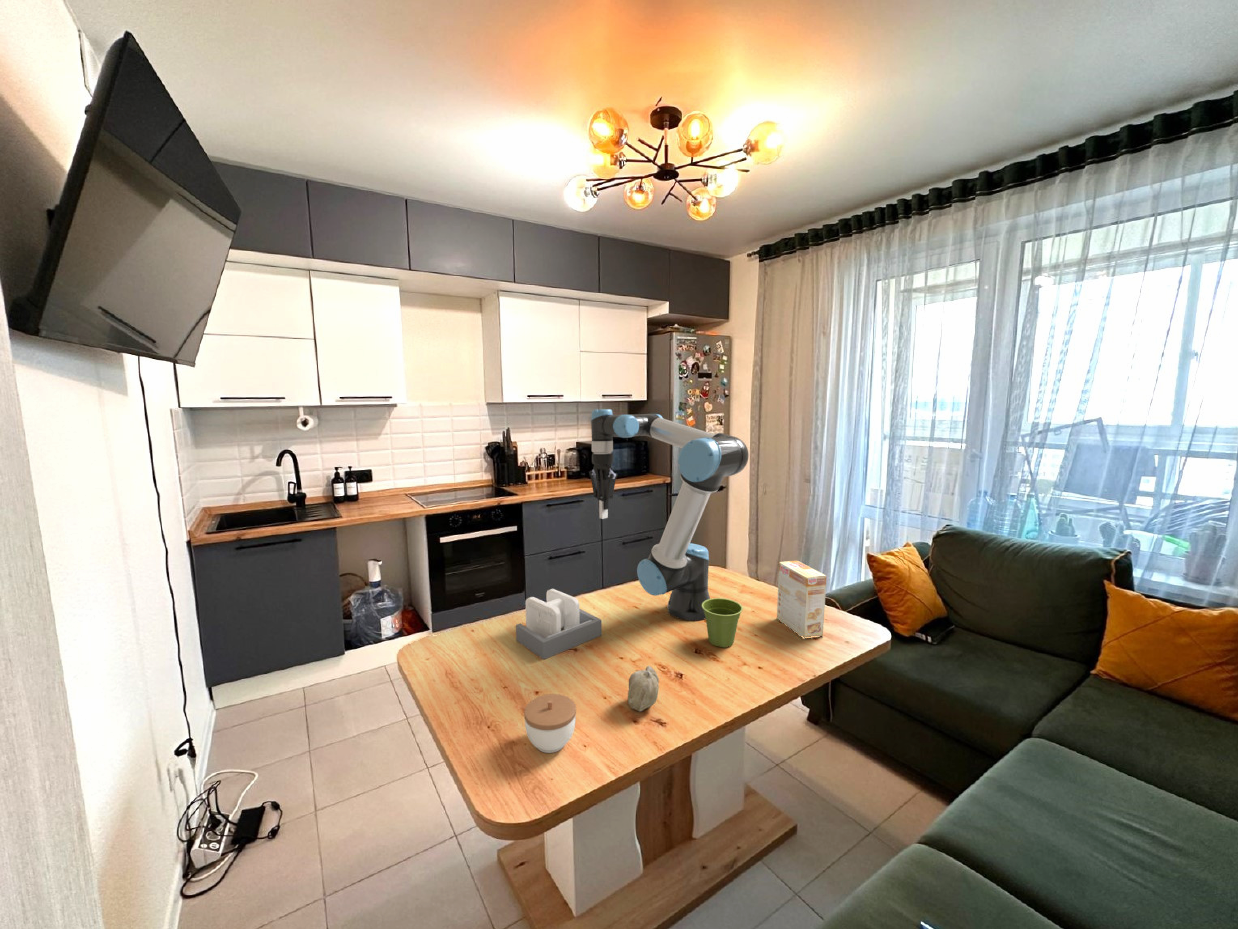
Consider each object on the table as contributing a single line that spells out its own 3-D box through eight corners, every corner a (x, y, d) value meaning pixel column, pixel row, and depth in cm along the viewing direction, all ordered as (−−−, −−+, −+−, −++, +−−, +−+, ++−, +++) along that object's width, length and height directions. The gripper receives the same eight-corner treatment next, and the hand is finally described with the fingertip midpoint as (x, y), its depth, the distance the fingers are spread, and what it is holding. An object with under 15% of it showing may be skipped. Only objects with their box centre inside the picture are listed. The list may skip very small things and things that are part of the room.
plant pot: (693, 642, 146) (693, 606, 145) (715, 629, 155) (716, 594, 153) (727, 657, 138) (728, 618, 137) (749, 642, 146) (750, 605, 145)
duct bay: (601, 635, 151) (601, 619, 150) (543, 659, 137) (543, 642, 136) (572, 619, 161) (572, 605, 161) (516, 640, 147) (516, 624, 147)
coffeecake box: (823, 637, 149) (827, 575, 147) (803, 640, 148) (806, 577, 145) (794, 616, 164) (797, 559, 161) (775, 618, 162) (778, 561, 159)
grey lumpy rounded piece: (645, 703, 121) (652, 661, 123) (666, 716, 114) (673, 671, 115) (613, 703, 116) (620, 659, 118) (633, 717, 109) (640, 670, 111)
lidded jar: (538, 722, 110) (538, 683, 109) (583, 731, 107) (583, 691, 106) (515, 755, 100) (514, 712, 99) (564, 766, 97) (563, 722, 96)
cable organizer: (582, 636, 150) (581, 599, 149) (555, 649, 142) (554, 610, 141) (550, 621, 160) (550, 586, 159) (524, 632, 153) (523, 596, 151)
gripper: (622, 453, 173) (623, 519, 176) (598, 451, 182) (599, 513, 185) (607, 454, 168) (608, 522, 171) (582, 452, 177) (584, 516, 180)
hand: (603, 517), depth 178 cm, fingers closed
